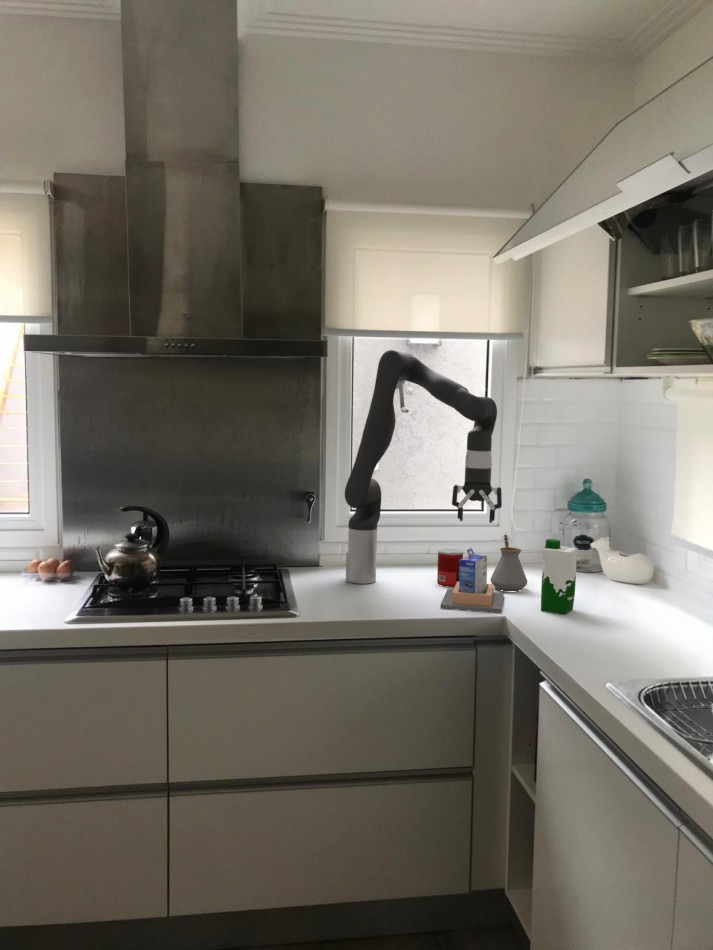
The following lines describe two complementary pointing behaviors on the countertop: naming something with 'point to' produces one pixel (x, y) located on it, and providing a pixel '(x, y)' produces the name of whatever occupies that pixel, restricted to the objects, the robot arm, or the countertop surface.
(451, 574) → the canned food
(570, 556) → the milk carton
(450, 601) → the dock
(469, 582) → the ink cartridge box
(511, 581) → the coffee pot
